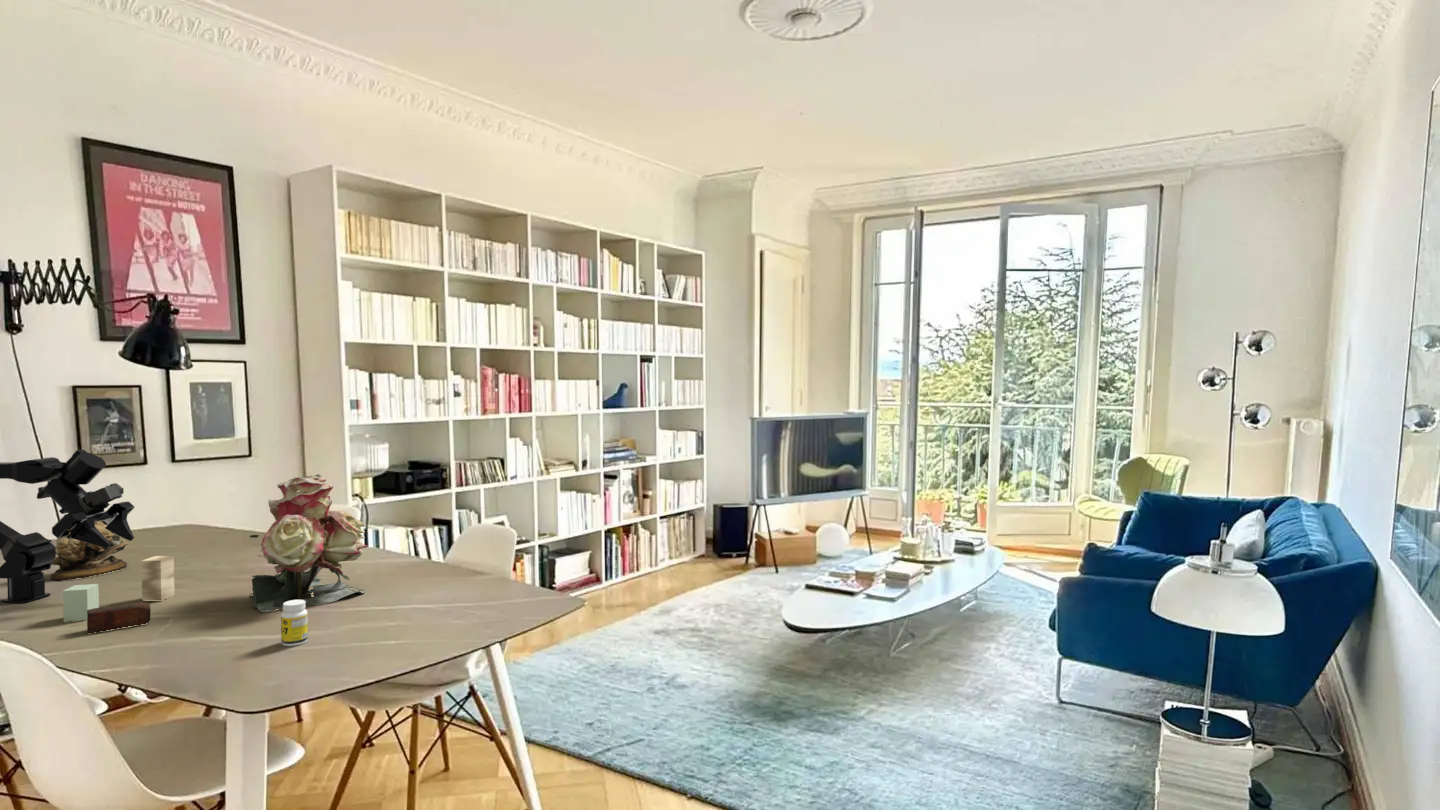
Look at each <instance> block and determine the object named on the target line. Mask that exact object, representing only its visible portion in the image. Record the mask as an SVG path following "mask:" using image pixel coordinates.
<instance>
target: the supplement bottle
mask: <svg viewBox="0 0 1440 810" xmlns="http://www.w3.org/2000/svg"><path fill="white" fill-rule="evenodd" d="M308 614H309V613H308V610H307V609H306V605H305V601H304V600H302V599H297V600H291V601H287V602H284V603H283V609H282V612H281V614H280V623H281V625H280V626H281V627H280V629H281V630H280V632H281V633H280V634H281V635H280V636H281V637H280V638H281V639H280V641H281V645H283V647H284V646H285V647H295V646H299V645H302V644H305V643H307V641H309V640H308V639H309V637H308V636H309V633H308V628H309V627H308V626H309V625H308V623H309V621H308Z"/></svg>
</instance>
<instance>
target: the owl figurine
mask: <svg viewBox="0 0 1440 810" xmlns="http://www.w3.org/2000/svg"><path fill="white" fill-rule="evenodd" d="M106 526H107V525H106V524H104V523H103V522H102V521H99V522H95V527H96V528H97V529H98V531H99V532H100V533H101V534H102V535H103V536H104V537H105V538H106V539H107V541H108V542H109V543H110V546H109V547H108V548H105V547H101V546H98V545H94V544H91V543H88V542H84V541H80V540H76V539H68V538H67V537H63V538H59V539H58V538H57V537H56V545H54V546H55V547H56V549H55V550H56V557H55V559H54V560H53V562H52V565H51V566H59V568H58V569H56V570H55V571H54V573H52V574H51V575H50V579H51V580H53V581H56V580H69V579H76V578H84V577H89V576H94V575H99V574H104V573H108V572H112V571H116V570H120V569H122V568H125V567H126V566H127V567H128V563H127V562H126V561H124V560H123V559H121V558H118V557H116V556H113V555H115V554H116V553H118V552H121V551H123V550H124V549H125V547H126V546H127V545H128V540H127V539H122V537H121V536H119V535H117V534H115V533H113V532H111V531H109V530H107V529H105V527H106ZM68 531H69V530H68ZM69 534H70V532H69ZM127 567H126V568H127ZM126 568H125V569H126ZM120 571H121V570H120ZM84 579H85V578H84ZM69 581H70V580H69Z"/></svg>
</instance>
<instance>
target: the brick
mask: <svg viewBox="0 0 1440 810" xmlns="http://www.w3.org/2000/svg"><path fill="white" fill-rule="evenodd" d="M151 613H152V612H151V605H150V603H147V602H142V601H141V602H132V603H127V604H119V605H110V606H101V607H100V606H99V608H93V609H90V610H87V622H86V626H87V628H86V629H87V634H88V633H93V634H95V633H94V632H99V633H101V632H100V631H106V630H111V629H117V628H122V627H128V626H134V625H141V624H146V623H148V624H149V622H151ZM106 632H107V631H106Z"/></svg>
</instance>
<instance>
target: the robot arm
mask: <svg viewBox="0 0 1440 810" xmlns="http://www.w3.org/2000/svg"><path fill="white" fill-rule="evenodd" d="M106 465H107V464H106V461H105V460H104V458H103V457H101V456H98V455H96V454H94V453H91V452H87V451H86V450H85V449H78V450H76V451H75V452H74V453H73V454H72V456H71V457H70V458H69V459H68V460H67V461H66V462H63V461H60V459H59V458H57V457H54V456H53V457H52V456H51V457H44V458H35V459H29V460H23V461H17V462H16V461H15V462H9V461H8V462H7V461H6V462H5V461H4V462H2V461H1V462H0V480H2V479H5V480H7V479H8V480H13V481H16V482H19V483H25V484H29V485H35V484H38V483H45V482H48V483H46V484H45V486H40V487H38V489H37V491H38V492H37V494H36V499H38V500H40V499H46V498H47V499H48V498H50V499H51V500H52V501H53V502H54V503H55V504H57V505H58V506H59V507H60V509H59V510H58V512H59V513H60V514H61V515H63V516H62V517H61V518H60V519H59V520H58V521H57V522H56V523H55V524H54V525H53V526H52V527H51V534H52V535H53V536H55V537H56V539H57V538H58V539H59V538H63V537H67V538H68V539H76V540H80V541H84V542H88V543H91V544H94V545H98V546H101V547H105V548H108V547H109V546H110V543H109V542H108V541H107V539H106V538H105V537H104V536H103V535H102V534H101V533H100V532H99V531H98V529H97V528H96V527H95V522H99V521H102V522H103V523H104V524H106V525H107V526H106V527H105V529H107V530H109V531H111V532H113V533H115V534H117V535H119V536H121V539H122V538H123V540H127V541H129V542H131V541H133V540H134V539H135V537H134V534H133V532H132V529H131V527H130V525H129V523H128V515H129V514H130V513H131V512H132V511H133V510H134V509H135V505H134V504H132V503H131V502H130V501H121V502H116V503H113V504H110V502H112V501H114V500H116V499H121V498H123V494H124V491H125V490H124V487H122V486H121V485H120V484H118V483H117V482H116V483H111V484H109V485H106V486H105V487H101V488H99V489H97V490H95V491H92V490H91V491H86V490H85V489H84V488H83V487H82V486H83V485H88V484H90V483H91V482H92V481H93V479H95V478H96V477H97V476H98V475H99V473H101V471H102V470H104V469H105V468H106ZM80 485H81V486H80ZM110 505H111V506H110ZM109 506H110V507H109ZM105 509H106V510H105ZM68 530H69V531H68ZM69 532H70V534H69ZM52 542H53V540H52V539H48V538H46V537H44V536H43V534H41V533H39V532H37V531H36V532H31V533H26V534H22V533H20V532H18V531H17V530H15V529H13V528H12V527H11V526H9V525H7V524H6V523H4V522H3V521H1V520H0V553H1V555H2V559H3V560H4V563H3V564H1V565H0V579H6V580H7V582H6V583H7V584H6V586H7V597H5V598H3V599H1V600H0V602H1V603H20V604H21V603H22V604H23V603H28V602H32V601H36V600H39V599H43V598H46V597H48V596H51V593H50V592H46V582H45V577H44V576H45V575H44V574H45V573H44V571H48V570H50V569H51V567H52V566H53V565H52V562H53V560H54V559H55V557H57V554H56V547H55V546H56V545H54V544H53V543H52Z"/></svg>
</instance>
